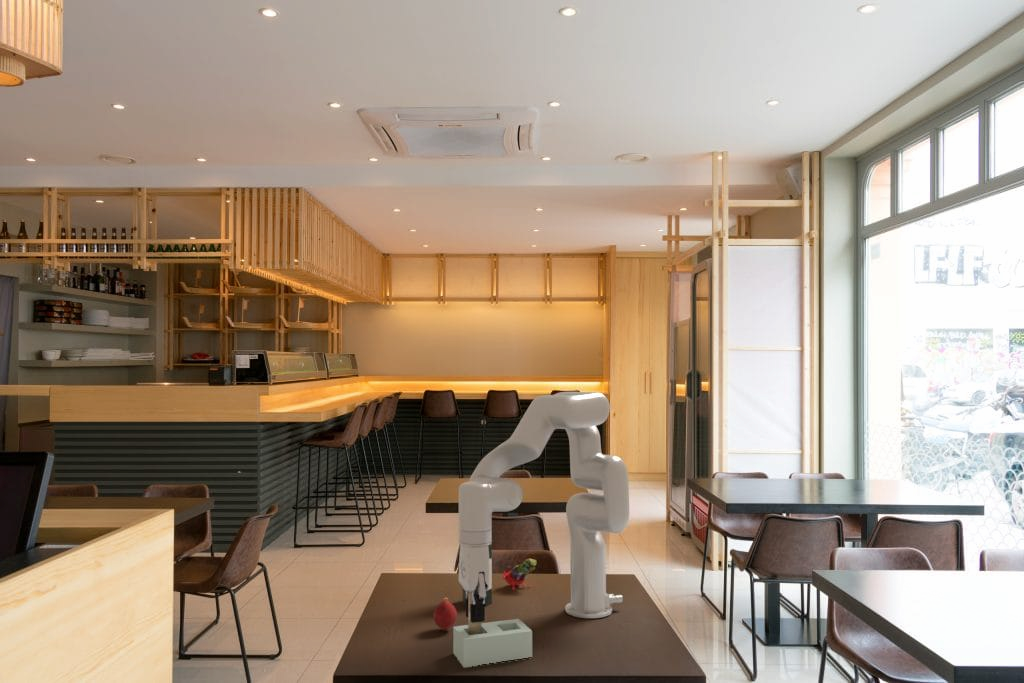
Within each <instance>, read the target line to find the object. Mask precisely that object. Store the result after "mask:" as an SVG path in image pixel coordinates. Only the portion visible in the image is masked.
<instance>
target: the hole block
mask: <svg viewBox="0 0 1024 683" xmlns="http://www.w3.org/2000/svg"><path fill="white" fill-rule="evenodd" d="M452 631H453V633H452V634H453V636H452V638H453V642H452V644H453V645H452V649H453V650H452V651H453V652H452V654H453V655H454V656H455V657H457V658H456V659H457V661H458V662H459V663H460V664H461V666H462V667H463V668H465V669H466V668H473V667H478V665H480V666H483V665H482V664H487V665H490V664H489V663H494V664H497V663H496V662H501V661H507V660H514V659H522V658H528V657H532V658H533V630H532V629H531V628H530V627H528V626H527V625H526V624H525V623H524V622H523V621H522V620H521V619H519V618H513V619H505V620H498V621H490V622H489V621H488V622H482V633H481V634H476V635H470V634H469V633H468V624H464V625H456V626H452ZM522 660H523V659H522ZM501 663H502V662H501ZM472 666H473V667H472Z"/></svg>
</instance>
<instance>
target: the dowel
mask: <svg viewBox="0 0 1024 683" xmlns="http://www.w3.org/2000/svg"><path fill="white" fill-rule="evenodd" d="M475 589H479V588H478V587H476V588H475ZM476 594H478V593H475V597H476ZM470 604H472V592H469V591H468V618H467V620H468V623H467V625H468V633H469V634H470V635H476V634H481V633H482V623H483V622H475V623H472V622H471V621H470Z"/></svg>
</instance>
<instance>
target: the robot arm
mask: <svg viewBox="0 0 1024 683" xmlns="http://www.w3.org/2000/svg"><path fill="white" fill-rule="evenodd" d="M610 411H611V406H610V402H609V400H608V398H607V396H605V395H604V394H603V393H602V392H596V391H562V392H557V393H555V394H544V395H539V396H537V397H534V399H533V400H532V401H531V403H530V405H529V406H528V407H527V410H526V411H525V412H524V414H523V416H522V417H521V419H520V421H519V423H518V424H517V426H516V428H515V429H514V432H512V434H511V436H510V437H509V438H507V439H506V440H505V441H504V442H502V443H500V444H499V445H498V446H496V447H495V448H494V449H493V450H491V451H490V452H488V453H487V454H486V455H484V457H483V458H482V459H481V460H480V461H479V462H478V464H477V466H476V467H475V469H474V471H473V472H472V474H471V476H470V477H469V480H468V481H465V482H463V483H461V484H460V485H459V487H458V544H459V545H458V546H460V547H459V558H458V583H459V584H460V585H461V586H462V588H463V587H464V588H465V589H466V606H465V617H466V618H467V619H468V591H469V592H472V604H470V621H471V622H472V623H475V622H482V623H484V621H485V619H486V618H485V617H486V615H485V614H486V610H485V607H486V606H485V597H486V590H488V589H489V586H490V564H489V548H488V545H490V544H491V543H492V542H493V540H492V536H493V535H492V529H493V528H492V524H493V523H492V522H493V521H492V517H493V516H492V513H493V512H494V513H495V512H498V513H499V512H503V513H505V512H511V511H514V510H516V509H517V508H518V507H519V506H520V504H521V503H522V501H523V497H524V494H523V493H524V492H523V489H522V486H521V485H520V484H519V483H518V482H516V481H515V480H513V479H509V478H503V477H501V476H502V475H504V473H506V472H508V471H509V470H511V469H513V468H515V467H518V466H520V465H524V464H526V463H529V462H532V461H534V460H537V458H539V457H540V456H541V454H542V453H543V451H544V449H545V447H546V445H547V443H548V442H549V440H550V438H551V437H552V435H553V433H554V431H555V430H558V429H559V430H560V429H561V430H565V432H566V434H567V437H568V441H569V442H568V443H569V464H570V465H569V467H570V468H569V470H570V479H571V482H572V483H573V485H575V486H576V487H577V488H581V489H587V490H594V491H601V492H603V494H600V493H599V494H598V493H591V492H578V493H575V494H574V495H572V496H570V498H569V499H568V501H567V502H566V507H565V511H566V512H565V513H566V519H567V520H566V521H567V524H568V525H567V526H568V530H569V532H568V533H569V548H570V553H569V554H570V556H569V557H570V558H569V560H570V561H569V562H570V602H569V603H567V604H566V605H565V606H564V610H565V611H564V612H565V613H566V614H568V615H570V616H572V617H575V618H581V619H600V618H605V617H607V616H610V615H611V614H613V613H612V612H613V607H612V606H611V605H613V604H614V603H615V604H618V603H623V595H622V594H616V595H614V593H607V569H606V568H607V567H606V565H607V562H606V558H607V557H606V556H607V555H606V542H605V540H604V536H603V535H602V533H609V534H620V533H622V532H624V531H625V529H627V526H628V525H629V521H630V493H629V490H630V488H629V487H630V486H629V485H630V484H629V472H628V467H627V466H626V463H625V461H624V460H623V459H622V458H621V457H619V456H618V455H613V454H612V455H611V454H603V453H602V445H601V435H600V431H599V429H598V427H597V426H600V425H601V424H604V422H606V420H608V417H609V415H610ZM476 587H478V588H479V589H475V588H476ZM475 593H478V594H476V597H475Z"/></svg>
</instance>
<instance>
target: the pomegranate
mask: <svg viewBox="0 0 1024 683" xmlns="http://www.w3.org/2000/svg"><path fill="white" fill-rule="evenodd" d="M457 619H458V611H457V609H456V606H454V605H453V604H452V603H451V602H450V601H449V598H448V597H444V598H443V600H442V601H441V602H439V604H438V605H437V606H436V607H435V609H434V612H433V620H434V623H435V625H436V626H437V627H438V628H440V629H441V630H443V631H444V632H445V631H448V630H449V629H450V628H452V627H453V626H454V624H455V623H456V621H457Z"/></svg>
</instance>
